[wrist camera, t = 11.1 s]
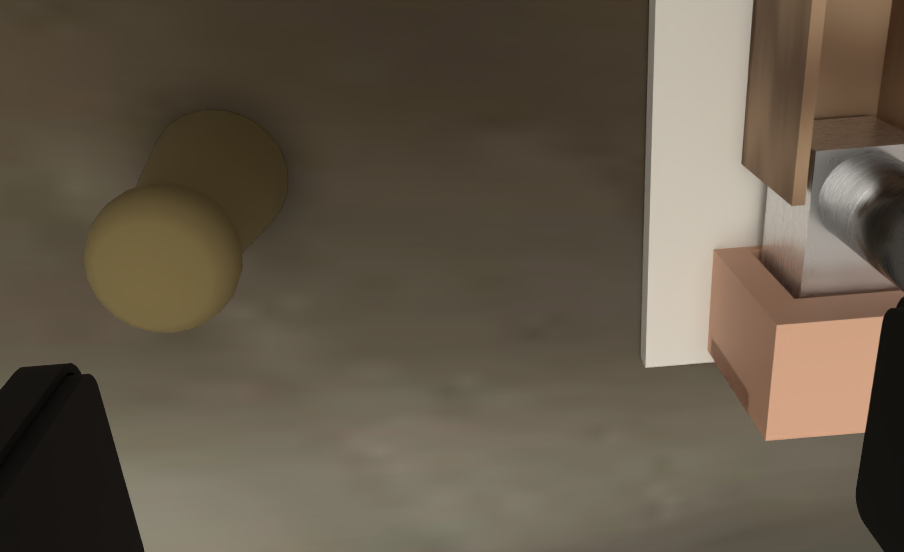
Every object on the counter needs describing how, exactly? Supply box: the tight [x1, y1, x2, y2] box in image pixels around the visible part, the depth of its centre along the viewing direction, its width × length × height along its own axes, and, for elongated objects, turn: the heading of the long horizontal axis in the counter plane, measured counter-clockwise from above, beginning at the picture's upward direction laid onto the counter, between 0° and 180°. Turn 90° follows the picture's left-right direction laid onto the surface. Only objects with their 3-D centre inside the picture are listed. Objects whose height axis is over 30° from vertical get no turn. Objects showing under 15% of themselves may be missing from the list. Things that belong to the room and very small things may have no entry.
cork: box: [83, 110, 288, 333], centre depth 33 cm, size 6×6×11 cm
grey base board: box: [641, 0, 768, 368], centre depth 38 cm, size 20×14×1 cm
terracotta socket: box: [707, 245, 904, 441], centre depth 37 cm, size 5×8×8 cm, turn 94°
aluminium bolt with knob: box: [761, 116, 904, 299], centre depth 33 cm, size 10×4×11 cm, turn 4°
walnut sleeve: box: [741, 0, 904, 206], centre depth 33 cm, size 10×6×6 cm, turn 4°
